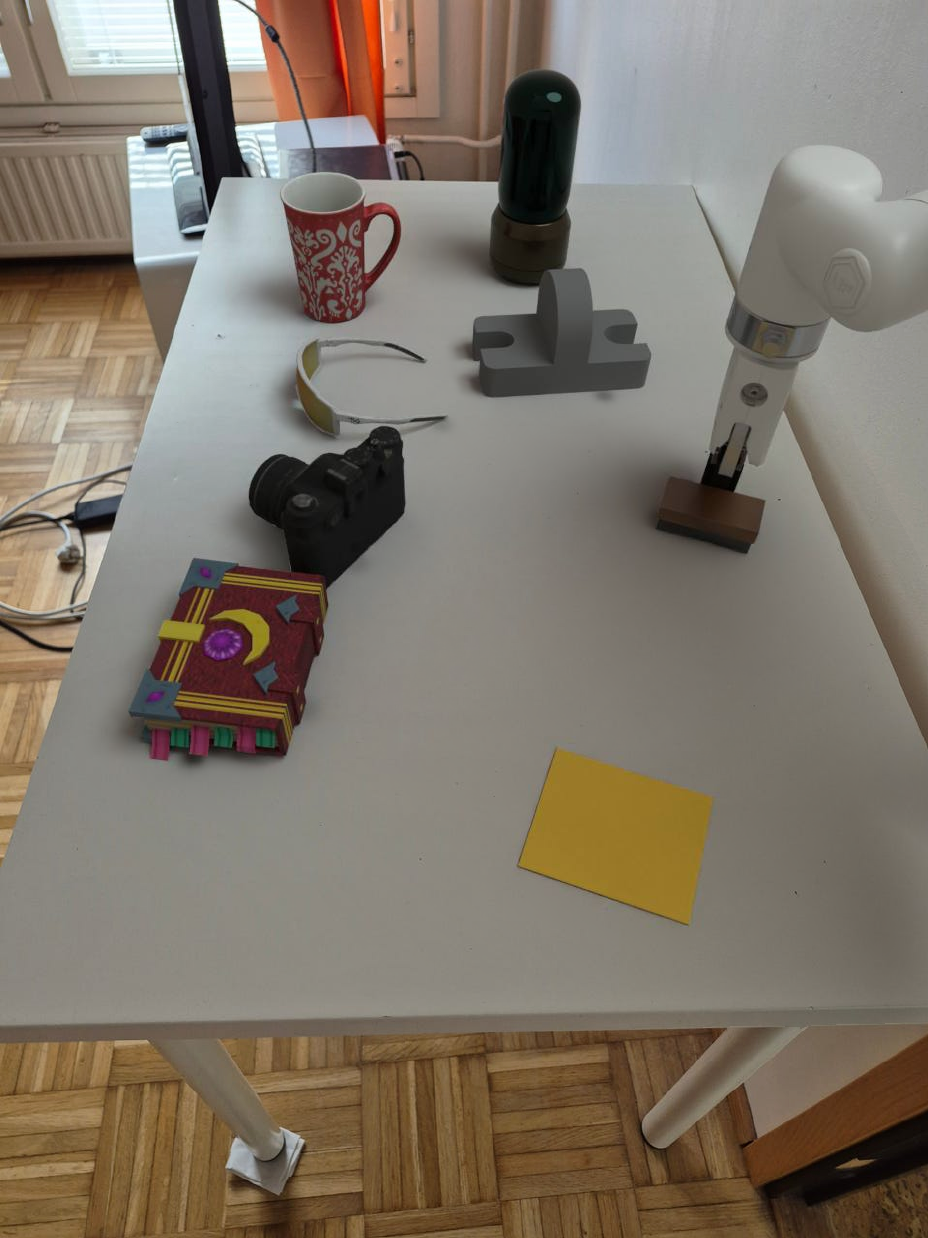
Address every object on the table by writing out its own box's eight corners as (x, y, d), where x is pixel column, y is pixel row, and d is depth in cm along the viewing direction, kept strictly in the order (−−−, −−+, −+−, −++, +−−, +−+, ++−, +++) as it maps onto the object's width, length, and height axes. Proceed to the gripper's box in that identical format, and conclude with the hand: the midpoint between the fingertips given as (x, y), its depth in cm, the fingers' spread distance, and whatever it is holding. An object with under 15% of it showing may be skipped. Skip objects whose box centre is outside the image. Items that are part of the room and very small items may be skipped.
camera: (333, 464, 87) (323, 378, 79) (419, 510, 83) (419, 426, 75) (231, 547, 79) (209, 462, 72) (321, 602, 76) (309, 519, 68)
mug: (293, 329, 101) (277, 212, 90) (295, 285, 106) (281, 171, 96) (404, 327, 102) (402, 211, 91) (400, 283, 107) (398, 170, 97)
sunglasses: (286, 365, 96) (287, 324, 92) (420, 365, 100) (426, 326, 97) (304, 450, 87) (306, 409, 84) (450, 446, 92) (458, 407, 88)
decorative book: (332, 608, 75) (327, 568, 71) (286, 775, 65) (277, 740, 61) (202, 592, 76) (190, 553, 72) (136, 756, 66) (118, 720, 62)
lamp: (556, 247, 114) (579, 55, 97) (572, 287, 108) (599, 91, 91) (483, 249, 113) (493, 56, 96) (494, 290, 107) (507, 92, 90)
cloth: (712, 798, 65) (713, 797, 65) (688, 925, 59) (689, 924, 59) (556, 749, 68) (556, 747, 67) (517, 866, 62) (518, 865, 61)
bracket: (647, 387, 96) (668, 297, 88) (483, 397, 94) (489, 306, 86) (625, 336, 102) (643, 247, 94) (470, 344, 100) (474, 254, 91)
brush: (756, 523, 84) (765, 500, 81) (749, 555, 81) (758, 532, 78) (662, 498, 85) (669, 475, 83) (652, 529, 83) (659, 506, 80)
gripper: (815, 385, 65) (743, 554, 79) (833, 282, 74) (766, 450, 88) (714, 361, 66) (661, 531, 81) (744, 262, 75) (691, 431, 90)
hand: (716, 488), depth 84 cm, fingers closed
